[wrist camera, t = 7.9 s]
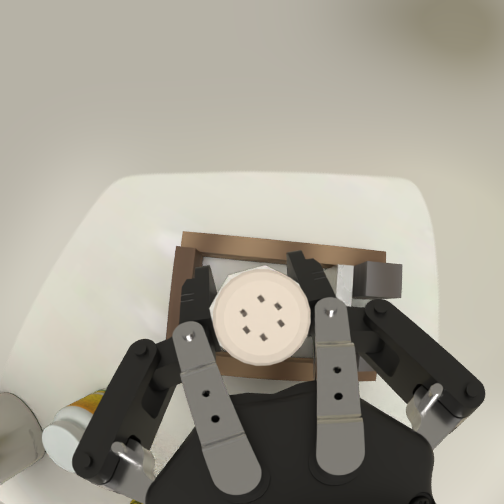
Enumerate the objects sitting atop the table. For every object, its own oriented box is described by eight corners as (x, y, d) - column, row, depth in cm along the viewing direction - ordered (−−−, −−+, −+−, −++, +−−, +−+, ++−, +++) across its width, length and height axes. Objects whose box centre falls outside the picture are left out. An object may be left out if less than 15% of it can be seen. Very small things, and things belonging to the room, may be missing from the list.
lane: (175, 361, 24) (158, 375, 19) (188, 238, 26) (174, 221, 21) (364, 374, 24) (390, 389, 19) (374, 256, 26) (402, 245, 21)
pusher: (313, 354, 24) (329, 365, 20) (321, 271, 26) (338, 264, 21) (373, 355, 24) (399, 364, 20) (380, 276, 26) (406, 270, 21)
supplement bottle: (143, 439, 23) (103, 488, 14) (95, 433, 23) (45, 471, 13) (134, 389, 24) (85, 424, 14) (86, 385, 24) (27, 410, 14)
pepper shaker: (263, 252, 20) (276, 187, 9) (315, 317, 19) (389, 328, 8) (196, 303, 19) (131, 298, 8) (249, 369, 18) (246, 442, 8)
